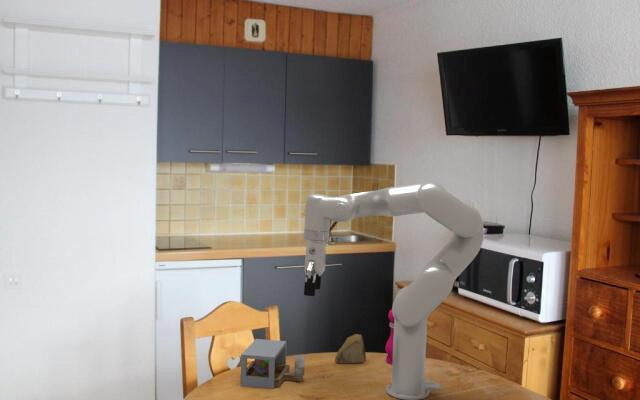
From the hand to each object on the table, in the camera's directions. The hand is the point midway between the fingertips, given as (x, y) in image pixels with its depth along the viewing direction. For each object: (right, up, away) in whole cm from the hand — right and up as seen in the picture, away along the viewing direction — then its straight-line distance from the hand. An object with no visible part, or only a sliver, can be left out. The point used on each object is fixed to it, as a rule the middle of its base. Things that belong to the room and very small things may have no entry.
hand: (312, 292), depth 203 cm
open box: (-15, -27, +5) cm, 32 cm away
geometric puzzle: (-15, -27, +6) cm, 32 cm away
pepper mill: (+28, -27, +25) cm, 46 cm away
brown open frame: (-11, -27, +5) cm, 30 cm away
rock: (+13, -27, +24) cm, 38 cm away
